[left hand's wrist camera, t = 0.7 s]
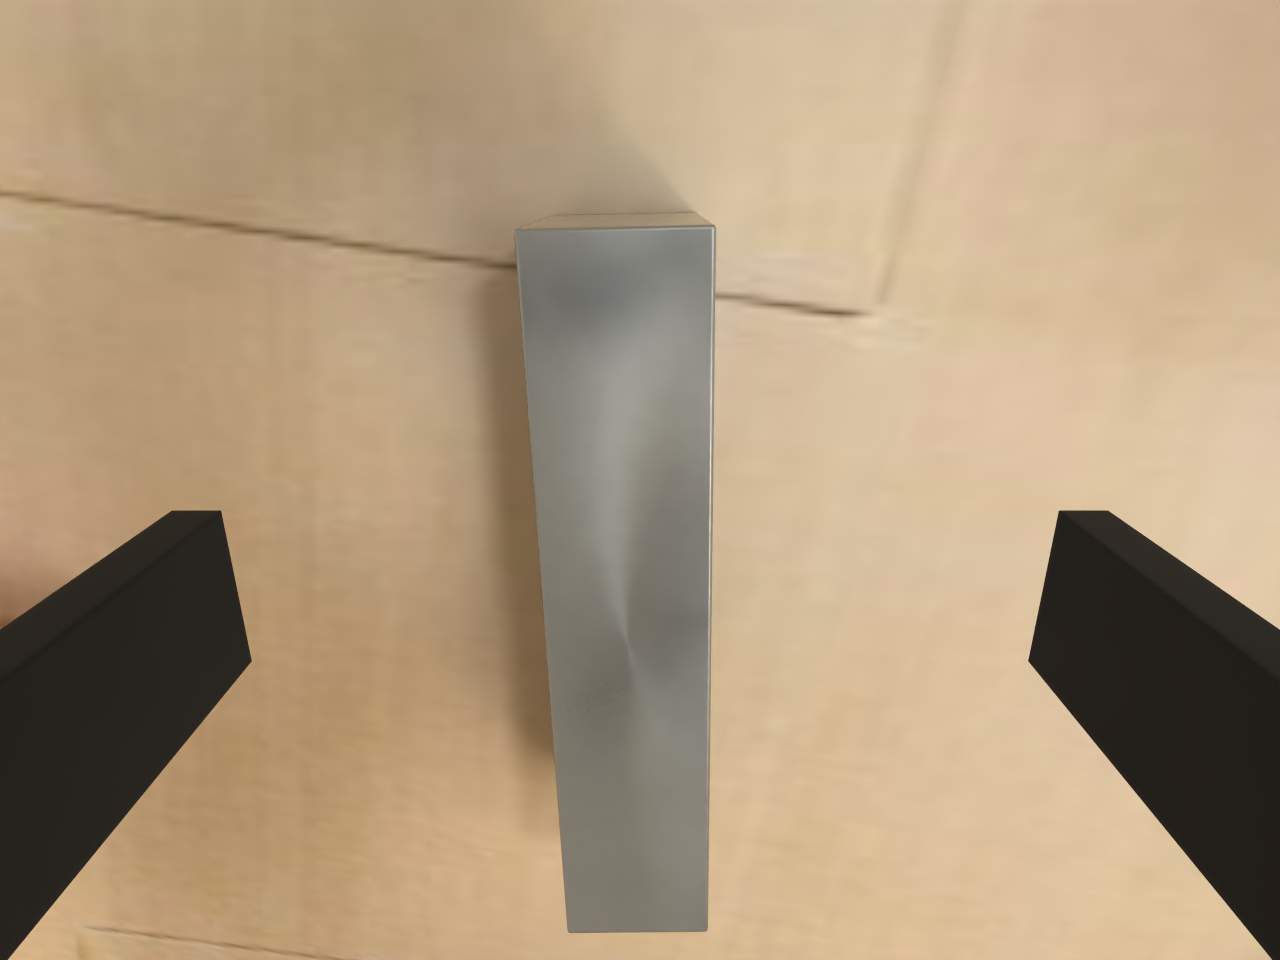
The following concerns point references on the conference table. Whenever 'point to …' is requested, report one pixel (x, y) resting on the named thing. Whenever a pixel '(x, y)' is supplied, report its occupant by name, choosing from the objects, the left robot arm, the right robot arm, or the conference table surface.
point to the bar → (625, 552)
